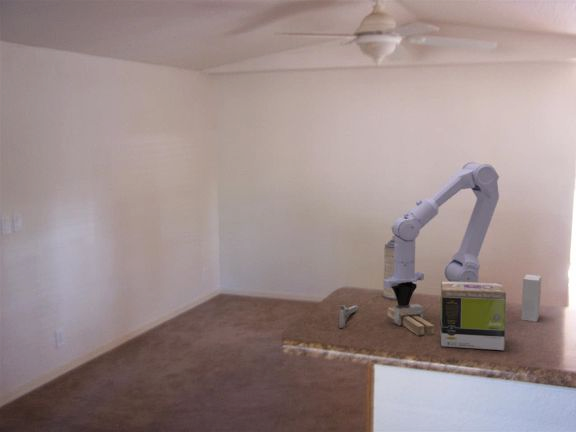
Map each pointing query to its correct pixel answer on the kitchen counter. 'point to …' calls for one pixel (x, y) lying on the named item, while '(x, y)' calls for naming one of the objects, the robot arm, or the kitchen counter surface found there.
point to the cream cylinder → (389, 268)
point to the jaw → (412, 325)
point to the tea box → (472, 315)
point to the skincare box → (531, 297)
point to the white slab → (407, 312)
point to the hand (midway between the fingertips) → (403, 308)
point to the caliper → (345, 314)
